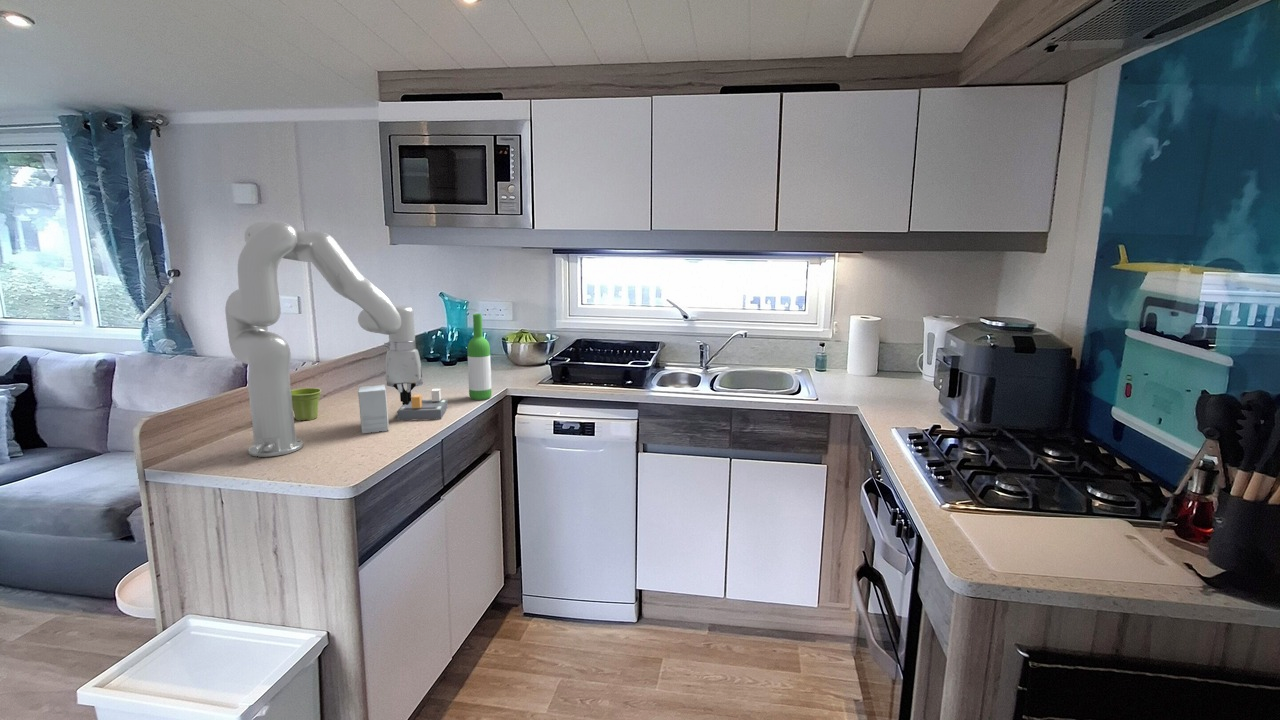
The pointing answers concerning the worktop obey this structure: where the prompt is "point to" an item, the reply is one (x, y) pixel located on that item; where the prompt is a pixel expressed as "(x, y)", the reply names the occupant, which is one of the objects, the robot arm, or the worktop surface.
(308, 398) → the plant pot
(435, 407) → the slider switch panel
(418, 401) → the block
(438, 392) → the white slider switch
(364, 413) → the supplement box
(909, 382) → the worktop surface
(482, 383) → the wine bottle
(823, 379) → the worktop surface
